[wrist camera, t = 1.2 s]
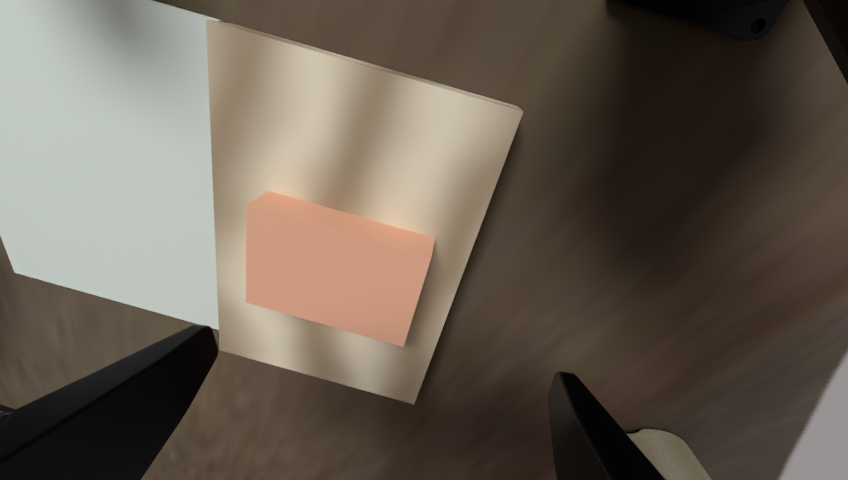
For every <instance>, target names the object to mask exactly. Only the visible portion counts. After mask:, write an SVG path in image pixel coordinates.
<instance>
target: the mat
mask: <svg viewBox="0 0 848 480" xmlns="http://www.w3.org/2000/svg"><path fill="white" fill-rule="evenodd" d="M206 20H211V21H218V22H224V21H222V20H219V19H215V18H212V17H208V16H205V15H202V14H198V13H195V12H191V11H188V10H184V9H181V8H177V7H174V6H171V5H167V4H164V3H160V2H157V1H153V0H0V236H1V238H2V241H3V244H4V246H5V249H6V251H7V254H8V257H9V259H10V262H11V265H12V267H13V270H14V272H15V273H18V274H22V275H25V276H29V277H32V278H36V279H39V280H43V281H47V282H50V283H54V284H57V285H61V286H64V287H68V288H72V289H75V290H79V291H82V292H86V293H89V294H93V295H96V296H100V297H104V298H107V299H111V300H114V301H118V302H121V303H125V304H129V305H132V306H136V307H139V308H143V309H146V310H150V311H153V312H157V313H161V314H164V315H168V316H171V317H175V318H178V319H182V320H186V321H189V322H193V323H196V324H200V325H206V326H210V327H211V328H214V329H218V330H219V320H218V297H217V273H216V249H215V225H214V201H213V177H212V154H211V130H210V106H209V82H208V58H207V35H206Z"/></svg>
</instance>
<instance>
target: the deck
mask: <svg viewBox="0 0 848 480" xmlns="http://www.w3.org/2000/svg"><path fill="white" fill-rule="evenodd" d="M206 35H207V58H208V82H209V106H210V130H211V154H212V177H213V201H214V225H215V249H216V273H217V297H218V320H219V344H220V350H221V351H225V352H229V353H232V354H236V355H239V356H243V357H246V358H250V359H254V360H257V361H261V362H264V363H268V364H271V365H275V366H279V367H282V368H286V369H289V370H293V371H296V372H300V373H304V374H307V375H311V376H314V377H318V378H321V379H325V380H329V381H332V382H336V383H339V384H343V385H346V386H350V387H354V388H357V389H361V390H364V391H368V392H371V393H375V394H379V395H382V396H386V397H389V398H393V399H396V400H400V401H404V402H407V403H411V404H414V403H415V401H416V398H417V395H418V393H419V390H420V387H421V385H422V382H423V379H424V377H425V374H426V371H427V368H428V366H429V363H430V360H431V358H432V355H433V352H434V350H435V347H436V344H437V342H438V339H439V336H440V334H441V331H442V328H443V326H444V323H445V320H446V318H447V315H448V312H449V310H450V307H451V304H452V302H453V299H454V296H455V294H456V291H457V288H458V285H459V283H460V280H461V277H462V275H463V272H464V269H465V267H466V264H467V261H468V259H469V256H470V253H471V251H472V248H473V245H474V243H475V240H476V237H477V235H478V232H479V229H480V227H481V224H482V221H483V219H484V216H485V213H486V210H487V208H488V205H489V202H490V200H491V197H492V194H493V192H494V189H495V186H496V184H497V181H498V178H499V176H500V173H501V170H502V168H503V165H504V162H505V160H506V157H507V154H508V152H509V149H510V146H511V144H512V141H513V138H514V136H515V133H516V130H517V127H518V125H519V122H520V119H521V117H522V114H523V111H522V110H521V109H520V108H519V107H518V106H515V105H512V104H508V103H505V102H501V101H498V100H494V99H491V98H488V97H484V96H481V95H477V94H474V93H470V92H467V91H463V90H460V89H457V88H453V87H450V86H446V85H443V84H439V83H436V82H432V81H429V80H426V79H422V78H419V77H415V76H412V75H408V74H405V73H401V72H398V71H395V70H391V69H388V68H384V67H381V66H377V65H374V64H370V63H367V62H364V61H360V60H357V59H353V58H350V57H346V56H343V55H339V54H336V53H333V52H329V51H326V50H322V49H319V48H315V47H312V46H308V45H305V44H301V43H298V42H295V41H291V40H288V39H284V38H281V37H277V36H274V35H270V34H267V33H264V32H260V31H257V30H253V29H250V28H246V27H243V26H239V25H236V24H231V23H224V22H218V21H211V20H206ZM267 191H272V192H275V193H279V194H282V195H286V196H289V197H293V198H296V199H300V200H303V201H307V202H310V203H314V204H317V205H321V206H324V207H328V208H331V209H335V210H338V211H342V212H345V213H349V214H352V215H356V216H359V217H363V218H366V219H370V220H373V221H377V222H380V223H384V224H387V225H391V226H394V227H398V228H401V229H405V230H408V231H412V232H415V233H419V234H422V235H426V236H429V237H433V238H435V242H434V247H433V252H432V257H431V260H430V264H429V267H428V270H427V273H426V276H425V280H424V283H423V286H422V289H421V293H420V296H419V299H418V302H417V305H416V309H415V312H414V315H413V318H412V321H411V325H410V328H409V331H408V334H407V337H406V341H405V344H404V347H402V346H398V345H395V344H391V343H388V342H384V341H381V340H377V339H373V338H370V337H366V336H363V335H359V334H356V333H352V332H349V331H345V330H341V329H338V328H334V327H331V326H327V325H324V324H320V323H317V322H313V321H310V320H306V319H302V318H299V317H295V316H292V315H288V314H285V313H281V312H278V311H274V310H270V309H267V308H263V307H260V306H256V305H253V304H249V303H246V205H247V204H248V203H250V202H251V201H253V200H255V199H256V198H258V197H259V196H261V195H262V194H264V193H265V192H267Z"/></svg>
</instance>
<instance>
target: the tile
mask: <svg viewBox="0 0 848 480" xmlns="http://www.w3.org/2000/svg"><path fill="white" fill-rule="evenodd" d="M434 242H435V238H433V237H429V236H426V235H422V234H419V233H415V232H412V231H408V230H405V229H401V228H398V227H394V226H391V225H387V224H384V223H380V222H377V221H373V220H370V219H366V218H363V217H359V216H356V215H352V214H349V213H345V212H342V211H338V210H335V209H331V208H328V207H324V206H321V205H317V204H314V203H310V202H307V201H303V200H300V199H296V198H293V197H289V196H286V195H282V194H279V193H275V192H272V191H267V192H265V193H264V194H262V195H261V196H259V197H258V198H256V199H255V200H253V201H251V202H250V203H248V204H247V205H246V303H249V304H253V305H256V306H260V307H263V308H267V309H270V310H274V311H278V312H281V313H285V314H288V315H292V316H295V317H299V318H302V319H306V320H310V321H313V322H317V323H320V324H324V325H327V326H331V327H334V328H338V329H341V330H345V331H349V332H352V333H356V334H359V335H363V336H366V337H370V338H373V339H377V340H381V341H384V342H388V343H391V344H395V345H398V346H402V347H404V344H405V341H406V337H407V334H408V331H409V328H410V325H411V321H412V318H413V315H414V312H415V309H416V305H417V302H418V299H419V296H420V293H421V289H422V286H423V283H424V280H425V276H426V273H427V270H428V267H429V264H430V260H431V257H432V252H433V247H434Z"/></svg>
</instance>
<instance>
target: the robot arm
mask: <svg viewBox="0 0 848 480" xmlns="http://www.w3.org/2000/svg"><path fill="white" fill-rule="evenodd" d="M611 1H612V2H614V3H617V4H620V5H624V6H627V7H630V8H634V9H637V10H641V11H644V12H647V13H651V14H654V15H658V16H661V17H664V18H668V19H671V20H675V21H678V22H681V23H685V24H688V25H692V26H695V27H698V28H702V29H705V30H709V31H712V32H715V33H719V34H722V35H725V36H729V37H732V38H736V39H739V40H742V41H752V40H757V39H760V38H762V37H763V36H765V35H766V34H767V33H768V32H769V30H770V29H771V27H772V26H773V24H774V23H775V21H776V20H777V18H778V16H779V15H780V13H781V12H782V10H783V8H784V7H785V5H786V4H787V2H788V1H789V0H611ZM803 2H804V4H805V6H806V7H807V9H808V11H809V13H810V15H811V17H812V19H813V20H814V22H815V24H816V26H817V28H818V30H819V32H820V33H821V35H822V37H823V39H824V41H825V43H826V45H827V46H828V48H829V50H830V52H831V54H832V56H833V58H834V59H835V61H836V63H837V65H838V67H839V69H840V71H841V73H842V74H843V76H844V78H845V80H846V82H847V84H848V0H803ZM755 20H757V21H758V24H759V25H758V28H757V29H756V30H755V31H754V32H751V25H752V23H753V22H754V21H755ZM217 355H218V345H217V342H216V338H215V335H214V332H213V329H212V328H211V327H210V326H206V325H198V324H195V325H192V326H190V327H187V328H185V329H183V330H181V331H179V332H177V333H175V334H173V335H171V336H169V337H167V338H165V339H162V340H160V341H158V342H156V343H154V344H152V345H150V346H148V347H146V348H144V349H142V350H139V351H137V352H135V353H133V354H131V355H129V356H127V357H125V358H123V359H121V360H119V361H116V362H114V363H112V364H110V365H108V366H106V367H104V368H102V369H100V370H98V371H96V372H93V373H91V374H89V375H87V376H85V377H83V378H81V379H79V380H77V381H75V382H73V383H70V384H68V385H66V386H64V387H62V388H60V389H58V390H56V391H54V392H52V393H50V394H47V395H45V396H43V397H41V398H39V399H37V400H35V401H33V402H31V403H29V404H27V405H24V406H22V407H20V408H18V409H16V410H14V411H13V412H12V413H11V414H10V413H8V414H5V415H3V416H1V417H0V480H141V478H142V477H143V475H144V474H145V472H146V471H147V470H148V468H149V467H150V465H151V464H152V462H153V461H154V459H155V458H156V456H157V455H158V453H159V452H160V450H161V449H162V447H163V446H164V444H165V443H166V442H167V440H168V439H169V437H170V436H171V434H172V433H173V431H174V430H175V428H176V427H177V425H178V424H179V422H180V421H181V419H182V418H183V416H184V415H185V413H186V412H187V410H188V408H189V406H190V405H191V403H192V401H193V400H194V398H195V396H196V394H197V392H198V390H199V389H200V387H201V385H202V383H203V381H204V380H205V378H206V376H207V374H208V372H209V371H210V369H211V367H212V365H213V363H214V362H215V360H216V358H217ZM548 405H549V415H550V425H551V435H552V444H553V454H554V463H555V470H556V476H557V480H666V479H665V478H664V477H663V476H662V475H661V473H660V472H659V471H658V470H657V469H656V468H655V466H654V465H653V464H652V463H651V462H650V461H649V459H648V458H647V457H646V456H645V455H644V454H643V453H642V451H641V450H640V449H639V448H638V447H637V446H636V444H635V443H634V442H633V441H632V440H631V439H630V437H629V436H628V435H627V434H626V433H625V432H624V430H623V429H622V428H621V427H620V426H619V425H618V424H617V422H616V421H615V420H614V419H613V418H612V417H611V415H610V414H609V413H608V412H607V411H606V410H605V408H604V407H603V406H602V405H601V404H600V403H599V401H598V400H597V399H596V398H595V397H594V396H593V395H592V393H591V392H590V391H589V390H588V389H587V388H586V386H585V385H584V384H583V383H582V382H581V381H580V379H579V378H578V377H577V376H576V375H575V374H573V373H567V372H560V371H559V372H557V373H556V374H555V376H554V379H553V382H552V385H551V388H550V392H549V396H548Z"/></svg>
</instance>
